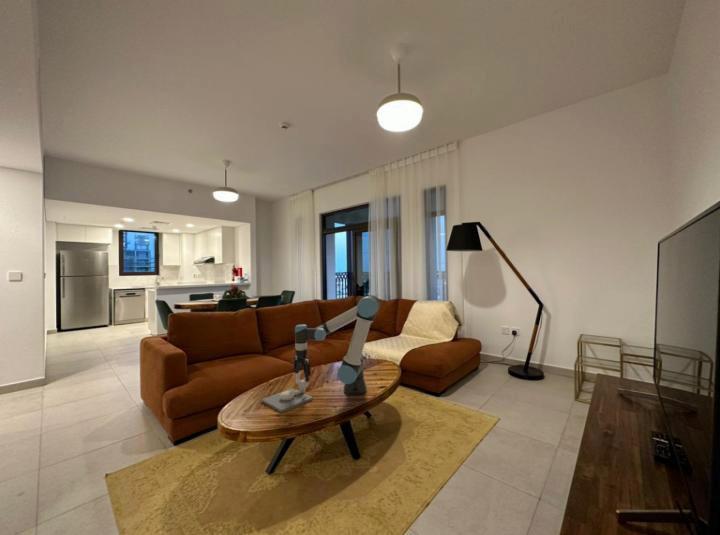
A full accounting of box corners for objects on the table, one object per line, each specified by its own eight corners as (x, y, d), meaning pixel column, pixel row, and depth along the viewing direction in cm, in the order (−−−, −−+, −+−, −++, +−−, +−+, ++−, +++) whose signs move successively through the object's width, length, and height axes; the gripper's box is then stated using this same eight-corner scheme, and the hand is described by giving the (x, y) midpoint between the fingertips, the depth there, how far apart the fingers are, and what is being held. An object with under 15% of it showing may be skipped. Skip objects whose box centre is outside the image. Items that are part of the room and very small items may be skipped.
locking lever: (285, 401, 168) (285, 389, 168) (277, 398, 173) (277, 386, 174) (308, 392, 181) (308, 381, 181) (301, 389, 186) (300, 378, 186)
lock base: (312, 399, 174) (312, 396, 174) (281, 412, 158) (281, 409, 158) (292, 390, 189) (292, 387, 189) (261, 401, 173) (261, 399, 173)
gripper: (316, 350, 178) (317, 387, 178) (296, 345, 193) (297, 379, 192) (306, 353, 173) (307, 390, 172) (287, 347, 187) (287, 382, 186)
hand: (302, 384), depth 182 cm, fingers open, 8 cm apart
